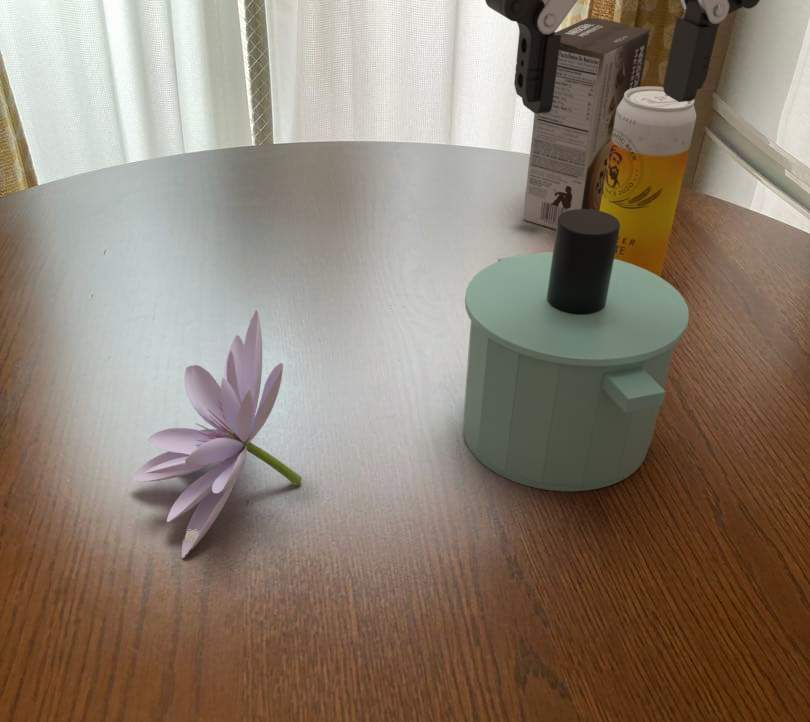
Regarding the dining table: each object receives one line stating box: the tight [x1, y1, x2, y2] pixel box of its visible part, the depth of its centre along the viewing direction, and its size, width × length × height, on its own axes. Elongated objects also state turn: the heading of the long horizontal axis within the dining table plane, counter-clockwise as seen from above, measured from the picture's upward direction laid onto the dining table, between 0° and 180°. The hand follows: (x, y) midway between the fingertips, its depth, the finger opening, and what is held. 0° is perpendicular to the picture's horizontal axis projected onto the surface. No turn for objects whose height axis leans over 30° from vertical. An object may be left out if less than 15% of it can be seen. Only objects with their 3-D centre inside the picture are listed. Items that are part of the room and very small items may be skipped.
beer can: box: [600, 85, 697, 278], centre depth 75 cm, size 6×6×15 cm
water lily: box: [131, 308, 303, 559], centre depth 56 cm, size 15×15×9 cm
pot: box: [462, 256, 677, 492], centre depth 60 cm, size 13×18×10 cm
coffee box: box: [522, 17, 651, 230], centre depth 85 cm, size 9×6×16 cm
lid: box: [464, 209, 690, 366], centre depth 55 cm, size 14×14×6 cm
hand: (608, 103), depth 49 cm, fingers open, 8 cm apart
